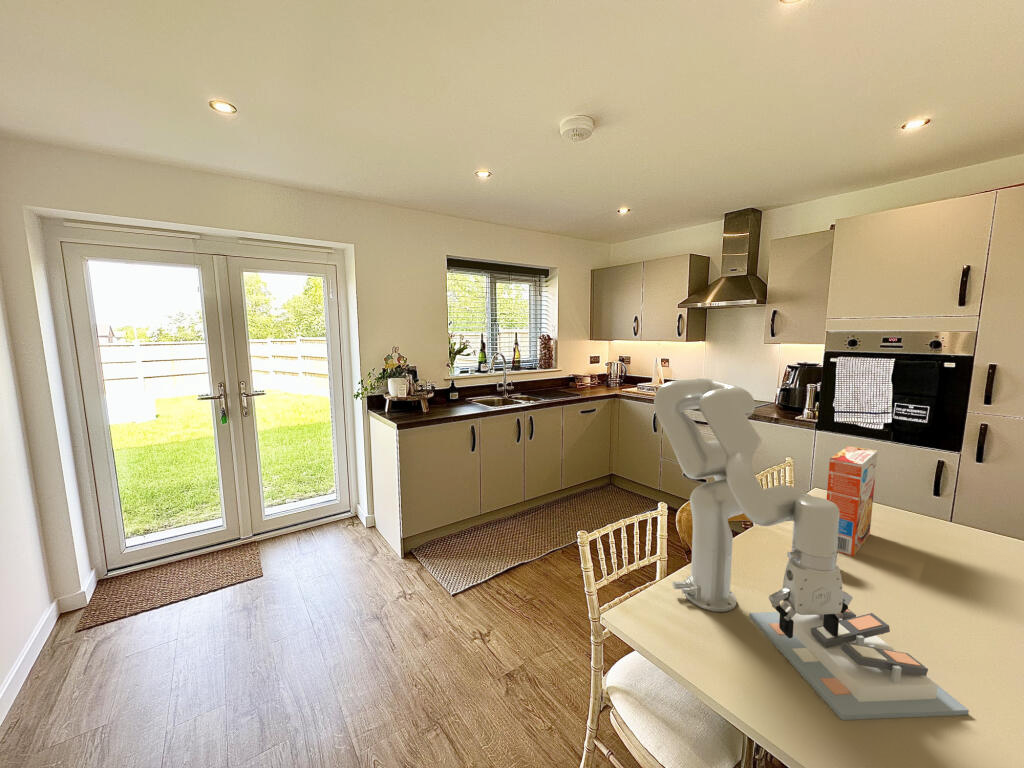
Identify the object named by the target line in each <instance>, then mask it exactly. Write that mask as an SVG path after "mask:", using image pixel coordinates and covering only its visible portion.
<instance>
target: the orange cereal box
mask: <svg viewBox="0 0 1024 768" xmlns="http://www.w3.org/2000/svg"><path fill="white" fill-rule="evenodd" d="M877 463H878V450H876V449H869V448H864V447H863V448H862V447H856V446H850V445H847V446H846V447H844V448H843V449H842V450H840V451H839V452H837V453H836V454H834V455H833V456H832V457H830V458H829V464H828V476H827V477H828V478H827V489H826V500H829V501H831V502H833V503H834V504H836V505H837V507H838V508H839V528H838V549H837V551H839V552H838V553H840V554H844V555H848V556H850V555H851V556H850V557H853V556H854V557H855V556H856V554H857V553H856V552H858V551H859V550H860V548H861V547H862V546H863V544H864V543H865V541H866V540H867V539H868V537H869V536H870V534H871V526H872V525H871V523H872V513H873V503H874V502H873V501H874V492H875V483H876V471H877ZM869 533H870V534H869ZM868 535H869V536H868ZM867 536H868V537H867ZM866 538H867V539H866ZM865 539H866V540H865ZM864 540H865V541H864ZM863 542H864V543H863ZM862 543H863V544H862ZM861 545H862V546H861ZM860 546H861V547H860ZM858 549H859V550H858Z"/></svg>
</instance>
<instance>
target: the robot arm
mask: <svg viewBox="0 0 1024 768" xmlns="http://www.w3.org/2000/svg"><path fill="white" fill-rule="evenodd" d="M653 398H654V399H653V407H654V408H653V409H654V413H655V415H656V418H657V420H658V422H659V423H660V426H661V428H662V429H663V431H664V432H665V434H666V435H667V439H668V441H669V443H670V445H671V448H672V450H673V452H674V455H675V457H676V459H677V462H678V463H679V467H680V468H681V470H682V472H683V474H684V475H685V476H686V477H687V478H689V479H691V480H702V479H707V478H712V477H713V479H714V480H713V481H709V482H705V483H702V484H700V485H699V486H697V487H695V488H694V489H693V490H692V492H691V494H690V496H689V503H690V504H689V505H690V511H691V516H692V517H691V518H692V538H691V539H692V542H691V544H692V546H691V565H690V567H691V568H690V575H686V579H684V580H683V581H680V580H679V581H678V580H675V581H672V588H673V589H674V590H680V591H681V593H682V594H683V595H685V597H686V598H687V599H688V600H689V601H690V602H691V603H692V604H694V605H695V606H697V607H699V608H702V609H703V610H708V611H711V612H717V613H720V612H721V613H723V612H724V613H725V612H729V611H732V610H734V608H735V607H736V605H737V597H736V595H735V594H734V593H733V591H732V590H731V579H732V562H733V560H732V559H733V544H734V543H733V540H734V539H733V533H732V529H731V527H730V525H729V521H728V520H729V519H730V518H732V517H737V516H740V515H742V514H743V515H745V516H746V518H747V519H749V521H751V522H752V523H753V524H756V525H757V526H761V527H771V526H776V525H778V524H783V523H784V522H793V524H792V526H793V527H792V540H791V541H792V542H791V551H789V552H787V553H786V555H787V558H788V561H787V563H786V567H785V571H784V576H783V583H782V589H780V590H778V591H775V592H774V593H772V594H769V596H768V600H769V601H770V604H771V606H772V608H773V609H775V610H776V612H779V613H780V619H779V627H780V629H781V631H782V632H783V633H784V634H785V635H786V636H787V637H788V638H792V637H793V624H794V622H793V620H792V619H791V618H792V617H793V616H794V615H795V614H796V613H797V614H800V615H822V614H824V621H823V627H824V628H825V629H826V630H827V631H828V632H829V633H831V634H832V635H833V636H835V637H836V636H838V626H839V619H841V618H842V617H843V615H842V614H843V613H844V612H845V611H846V610H847V609H849V606H850V604H851V602H852V601H853V596H852V595H851V594H849V593H848V592H846V591H844V590H843V581H842V574H841V570H840V567H839V565H837V561H836V554H837V555H838V552H837V541H838V528H839V508H838V507H837V505H836V504H834V503H833V502H831V501H829V500H827V498H822V497H819V496H813V495H810V494H809V493H807V492H805V491H803V490H801V489H799V488H797V487H795V486H792V485H788V484H779V485H774V486H770V487H767V488H764V487H763V486H762V485H761V484H760V481H758V479H757V477H756V473H755V472H754V469H753V458H754V454H755V453H756V451H757V450H758V448H759V447H760V446H761V444H762V439H761V437H760V435H759V433H758V432H757V430H756V429H755V428H754V426H753V425H752V423H751V422H750V420H749V417H751V416H752V415H753V413H754V411H755V409H756V402H755V399H754V397H753V395H752V394H751V393H750V392H749V391H747V390H746V389H745V388H742V387H739V386H736V385H732V384H729V383H725V382H721V381H718V380H713V379H709V378H693V379H692V378H691V379H679V380H678V379H677V380H671V381H668V382H665V383H663V384H662V385H660V386H659V387H658V388H657V390H656V392H655V395H654V397H653ZM697 409H698V410H699V411H700V412H701V415H702V416H703V418H704V420H705V422H706V423H707V425H708V426H709V428H710V429H711V432H712V433H713V435H714V436H715V438H716V439H717V440H708V441H707V440H706V439H705V438H704V437H703V434H702V432H701V430H700V428H699V426H698V424H697V423H696V421H694V420H693V418H691V417H690V416H689V415H688V414H687V413H686V411H688V410H690V411H691V410H697ZM781 601H782V603H781ZM788 607H791V608H790V609H789V611H788V612H786V611H785V610H786V609H787V608H788Z"/></svg>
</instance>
